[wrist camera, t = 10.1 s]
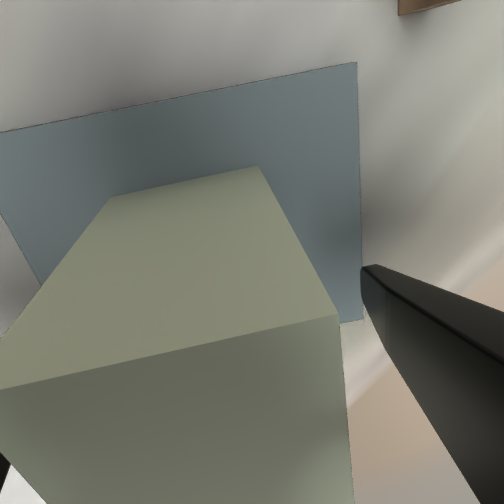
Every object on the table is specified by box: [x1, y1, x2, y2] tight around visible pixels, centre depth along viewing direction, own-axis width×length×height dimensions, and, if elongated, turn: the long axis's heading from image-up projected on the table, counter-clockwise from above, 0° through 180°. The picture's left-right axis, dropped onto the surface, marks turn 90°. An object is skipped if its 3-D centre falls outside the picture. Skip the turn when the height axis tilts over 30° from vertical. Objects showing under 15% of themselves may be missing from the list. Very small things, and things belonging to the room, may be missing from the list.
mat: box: [0, 62, 363, 324], centre depth 13 cm, size 12×10×1 cm
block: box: [0, 165, 355, 504], centre depth 9 cm, size 5×5×8 cm
